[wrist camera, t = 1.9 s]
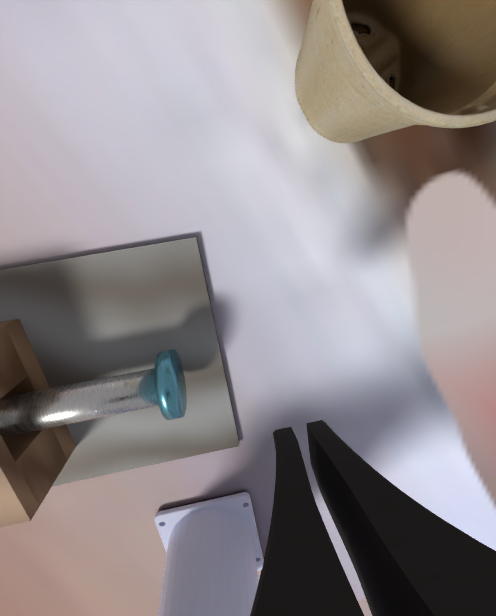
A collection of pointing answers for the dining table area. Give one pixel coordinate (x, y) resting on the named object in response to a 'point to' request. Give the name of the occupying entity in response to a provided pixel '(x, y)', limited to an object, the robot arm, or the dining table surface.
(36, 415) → the pin
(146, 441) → the hitch block
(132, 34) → the dining table surface
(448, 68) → the flower pot
